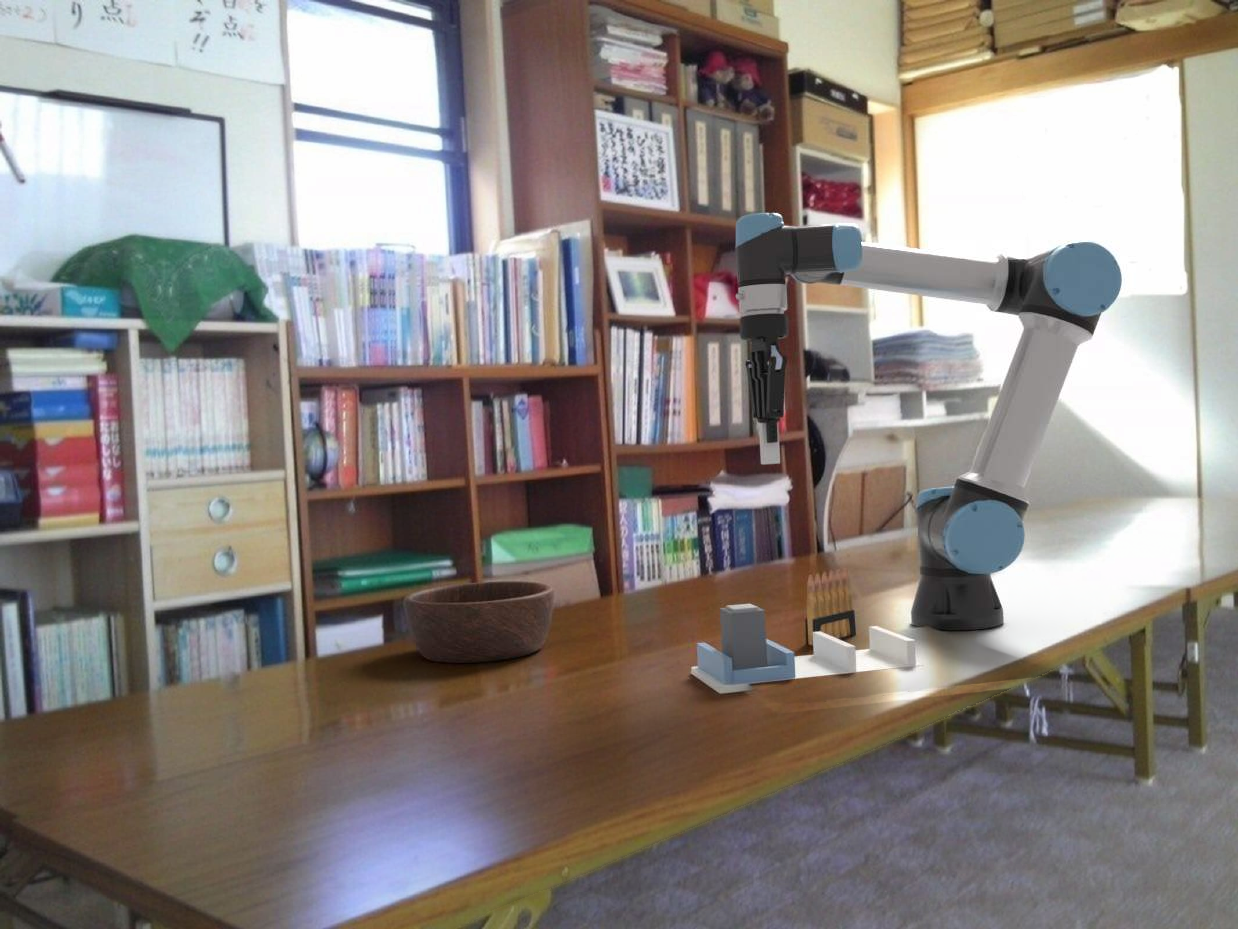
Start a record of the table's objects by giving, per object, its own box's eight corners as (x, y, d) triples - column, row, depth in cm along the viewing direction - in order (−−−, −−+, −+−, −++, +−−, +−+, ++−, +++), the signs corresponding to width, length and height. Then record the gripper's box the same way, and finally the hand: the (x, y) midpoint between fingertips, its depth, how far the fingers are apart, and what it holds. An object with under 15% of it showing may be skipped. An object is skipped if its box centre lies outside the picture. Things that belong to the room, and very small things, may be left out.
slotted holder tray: (881, 654, 190) (880, 624, 190) (923, 672, 176) (922, 640, 176) (691, 673, 183) (689, 643, 183) (719, 693, 170) (718, 660, 169)
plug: (756, 667, 181) (753, 602, 180) (767, 673, 176) (764, 607, 175) (723, 670, 180) (719, 605, 179) (733, 677, 175) (730, 610, 174)
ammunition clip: (815, 652, 194) (811, 575, 194) (805, 651, 196) (801, 574, 195) (856, 641, 201) (853, 567, 201) (847, 639, 203) (844, 566, 202)
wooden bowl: (376, 659, 209) (372, 597, 208) (489, 634, 227) (486, 577, 227) (474, 674, 192) (470, 608, 191) (587, 646, 210) (584, 585, 210)
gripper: (727, 318, 202) (735, 464, 203) (753, 311, 189) (761, 466, 190) (771, 316, 204) (778, 461, 205) (800, 309, 191) (808, 463, 192)
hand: (770, 463), depth 198 cm, fingers closed
